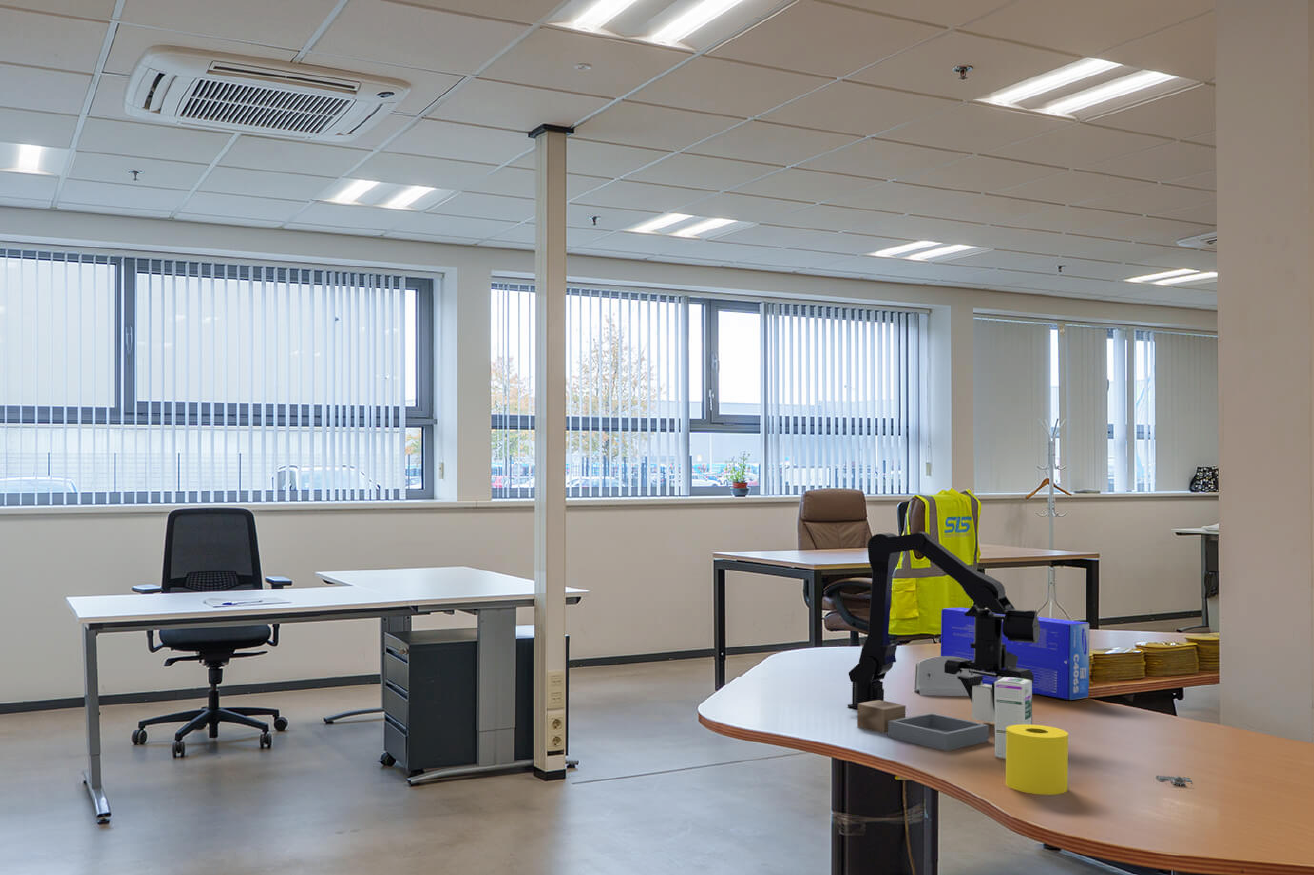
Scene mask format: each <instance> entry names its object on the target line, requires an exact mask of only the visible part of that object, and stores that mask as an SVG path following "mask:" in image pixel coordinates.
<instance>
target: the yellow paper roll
mask: <svg viewBox="0 0 1314 875" xmlns="http://www.w3.org/2000/svg"><path fill="white" fill-rule="evenodd" d="M1068 737H1069V733H1068V732H1067V731H1066V730H1064V729H1061V728H1059V727H1054V726H1048V725H1041V724H1032V725H1030V724H1019V725H1011V726H1008V727H1007V728H1006V759H1005V785H1006V786H1007V787H1008V788H1010V789H1013V790H1016V791H1018V792H1023V793H1027V794H1034V795H1045V796H1047V795H1049V796H1051V795H1059V794H1060V795H1061V794H1064V793H1067V791H1068V776H1069V775H1068V772H1069V769H1068V766H1069V764H1068V763H1069V762H1068V761H1069V760H1068V759H1069V758H1068V757H1069V755H1068V751H1069V750H1068V749H1069V746H1068V744H1069V738H1068Z"/></svg>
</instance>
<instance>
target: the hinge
mask: <svg viewBox="0 0 1314 875" xmlns="http://www.w3.org/2000/svg"><path fill="white" fill-rule="evenodd" d="M956 658H961V657H955V656H941V655H939V656H933V657H928V658H924V659H922V660H920V661H918V662H917V663H916V664H915V671H914V688H913V689H914V692H915V693H919V696H933V695H935V696H939V697H940V696H942V697H945V696H949V697H950V696H951V697H953V696H954V697H969V695H968V693H967V691H966V689H965V687H964V685H963V683H962V682H961V680H960V679H957V676H959V673H960V671H959V672H958V673H957V674H955V675H954V674H949V673H944V664H945V662H946V661H947V660H949V659H956ZM962 659H965V658H962ZM968 660H969V659H968ZM973 662H974V661H973ZM978 675H980V674H978ZM981 684H982V681H981Z"/></svg>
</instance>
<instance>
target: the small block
mask: <svg viewBox="0 0 1314 875" xmlns="http://www.w3.org/2000/svg"><path fill="white" fill-rule="evenodd" d="M994 715H995V712H994V706H993V694H992V685H989V684H980V685H975V686H972V701H971V719H972V720H977V721H981V722H985V723H989V724H990V723H995V716H994Z"/></svg>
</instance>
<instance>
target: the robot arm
mask: <svg viewBox="0 0 1314 875" xmlns="http://www.w3.org/2000/svg"><path fill="white" fill-rule="evenodd" d="M909 551H916V552H919V553H920V554H922V556H924V557H925V558H926V559H928V561H930V562H931V563H933V564H934V565H935V566H937V568H939V569H941V571H943V573H945V574H947V575H948V576H949V577H951V578H952V579H953V580H954V581H955V582H957V583H958V584H959V585H960V587H961V588H962V589H963V591H964V592H965V594H966V595H967V596H968V597H969V598H970V600H971V601H972V602H973V603H974V604H973V605H972V606H971V607H970V608H969V609H970V610H968V611H967V612H966V613H965V616H970V617H975V625H974V643H971V648H974V662H973V661H972V660H968V659H962V658H956V659H949V660H947V661H946V662H945V664H944V673H949V674H954V675H955V674H957V673H958V672H959V671H960V673H959V676H957V679H960V680H961V682H962V683H963V685H964V687H965V689H966V691H967V693H968V695H969V696H968V698H969V699H970V700H971V702H972V686H975V685H980V684H981V681H982V679H983V677H984V676H981V675H986V676H991V677H997V678H998V680H1000V679H1002V678H1003V677H1014V678H1023V679H1029V680H1031V681H1032V683H1033V674H1032V672H1031V670H1028V669H1022V668H1016V665H1017V661H1018V656H1016V655H1014V654H1012V653H1010V652H1007V651H1006V646H1005V644H1003V643H1002V629H1003V635H1004V636H1005V637H1007V638H1008V640H1009V641H1016V642H1027V643H1037V642H1038V640H1039V636H1040V625H1039V620H1038V617H1039V616H1038V611H1037V610H1034V609H1029V610H1025V609H1024V610H1023V609H1022V610H1021V609H1016V608H1015V606H1014V605H1013V604H1012V602H1011V601H1010V600H1009V598H1008V597H1007V595H1006V589H1005V586H1004V584H1003V583H1002V582H1001V581H999V580H997V579H996V578H994V577H992V576H989V575H988V574H986V573H984V572H981V571H978V570H976V569H974V568H972V567H971V566H970V565H968V564H967V563H966V562H964V561H963V560H961V558H959V557H958V556H956V554H953V552H951V551H950V550H948V549H947V548H946V547H945V546H944V545H942V544H941V543H939V542H938V541H937V540H936V539H934V538H933V537H932V536H931V535H930V534H929V533H928V532H925V531H917V532H914V533H910V534H904V535H896V534H894V533H892V532H887V533H876V534H874V535H872V536H871V537H870V538H869V539H868V541H867V555H868V557H867V558H868V562H869V564H870V569H871V573H872V579H871V592H870V605H869V618H868V632H867V636H866V638H865V641H864V642H863V645H862V648H861V651H860V655H859V658H858V659H859V660H858V664H856V666H854V667H853V668H852V669H851V670H850V671H849V672H848V677H849V680H850V682H852V693H851V694H852V695H851V696H852V699H851V700H852V703H848V704H847V708H852V709H857V710H858V704H859V703H864V702H870V701H876V700H882V701H885V700H884V698H885V689H884V688H883V687H884V685H883V684H884V681H881V680H884V679H885V677H886V674H887V673H888V672H889V671H890V670H892V668H893V666H894V663H896V662H897V659H896V652H897V646H898V645H897V644H896V643H891V638H890V636H889V634H890V632H889V630H890V618H891V608H892V607H891V605H892V593H893V592H892V591H893V579H894V573H895V570H896V568H897V566H898V564H899V561H900V557H901V553H902V552H909ZM994 613H995V614H994ZM996 614H1001V615H996ZM1004 614H1005V615H1004ZM1002 619H1003V627H1002ZM1004 668H1005V669H1004ZM1003 669H1004V670H1003ZM993 672H995V673H993ZM978 674H980V675H978ZM992 694H993V706H994V707H995V704H994V702H995V701H994V683H992ZM994 712H995V711H994Z"/></svg>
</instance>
